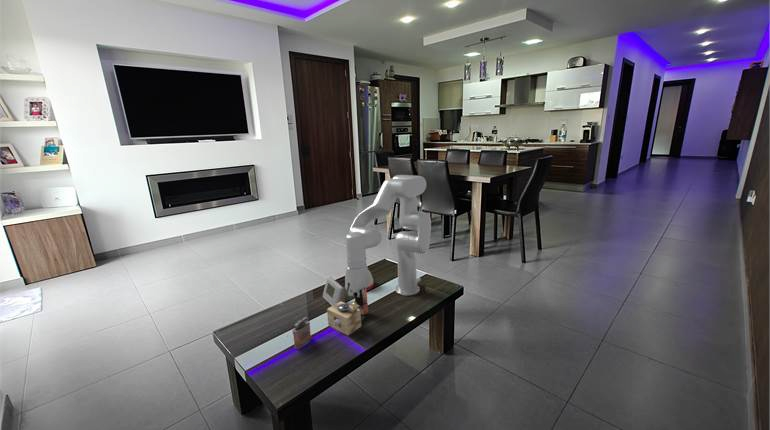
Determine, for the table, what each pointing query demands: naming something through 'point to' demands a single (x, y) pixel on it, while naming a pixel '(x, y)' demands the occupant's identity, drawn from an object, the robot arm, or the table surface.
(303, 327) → the lighter
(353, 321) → the beige block
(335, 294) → the digital clock
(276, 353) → the table surface
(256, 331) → the table surface
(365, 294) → the copper head hammer
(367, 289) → the kitchen timer
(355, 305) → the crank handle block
